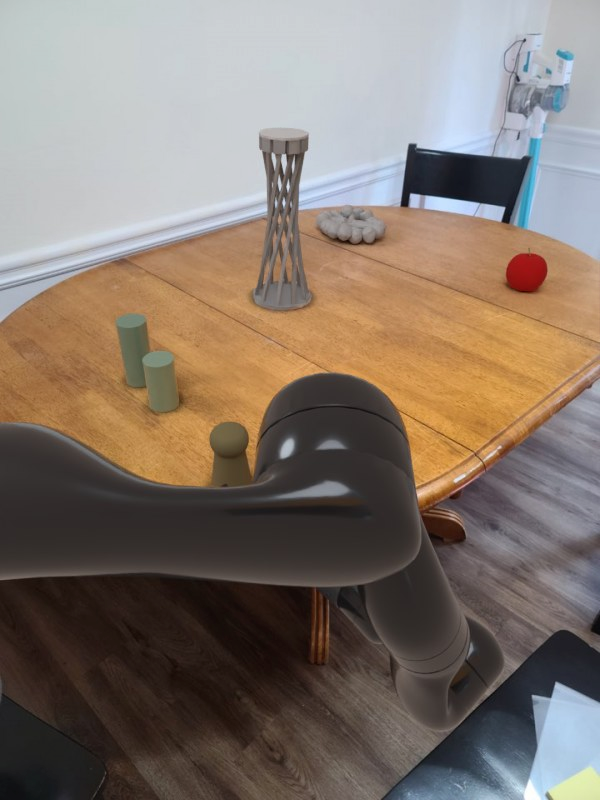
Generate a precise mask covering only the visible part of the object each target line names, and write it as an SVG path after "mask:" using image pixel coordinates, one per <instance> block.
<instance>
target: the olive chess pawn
mask: <svg viewBox="0 0 600 800" xmlns="http://www.w3.org/2000/svg"><path fill="white" fill-rule="evenodd" d="M208 439H209V447H210V449H211V451H212V452H213V463H212V474H211V485H210V487H220V486H221V485H223V484H225V483H226V484H227V485H228V486H229V487H232V486H244V485H250V484H252V480H253V477H252V474H251V473H252V472H251V469H250V464H249V460H248V455H247V449H248V447H249V443H250V435H249V432H248V430H247V429H246V427H245V426H244V425H242V424H241V423H239V422H237V421H224V422H220V423H218V424H216V425H215V426H214V427H213V428H212V429H211V431H210V433H209V437H208Z"/></svg>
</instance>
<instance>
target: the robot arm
mask: <svg viewBox="0 0 600 800" xmlns="http://www.w3.org/2000/svg"><path fill="white" fill-rule="evenodd" d="M408 435H409V434H408V431H407V427H406V424H405V423H404V419H403V417H402V415H401V412H400V411H399V410H398V408H397V406H396V405H395V403H394V402H393V401H392V400H391V398H390V397H389V396H388V395H387V394H386V393H385V392H384V391H382V390H381V389H380V388H379V387H378V386H376V385H375V384H373V383H371V382H369V381H368V380H366V379H364V378H361V377H359V376H355V375H352V374H348V373H341V372H318V373H313V374H308V375H303V376H301V377H299V378H296V379H294V380H292V381H291V382H289V383H287V384H285V386H283V387H282V388H281V389H280V390H279V391H278V392H277V393H276V394H275V395H274V396H273V397H272V398H271V400H270V401H269V403H268V405H267V406H266V409H265V411H264V414H263V417H262V419H261V423H260V426H259V429H258V433H257V439H256V447H255V454H254V463H253V470H252V471H253V473H252V484H250V485H244V486H232V487H229V486H228V485H227V484H226V483H225V484H223V485H221V486H220V487H211V486H204V485H203V486H202V485H200V486H199V485H185V484H171V483H166V482H161V481H156V480H153V479H149V478H147V477H145V476H142V475H140V474H137V473H135V472H133V471H132V470H129V469H128V468H126V467H124V466H123V465H121V464H119V463H118V462H116V461H114V460H113V459H111V458H109V457H108V456H107V455H105V454H103V453H102V452H100V451H98V450H96V449H95V448H94V447H92V446H90V445H88V444H87V443H85V442H84V441H81V440H80V439H78V438H76V437H74V436H72V435H70V434H69V433H66V432H64V431H62V430H61V429H58V428H55V427H53V426H49V425H46V424H42V423H35V422H27V421H0V581H7V580H10V581H11V580H26V579H41V578H44V579H45V578H82V577H83V578H88V577H89V578H90V577H92V578H93V577H117V578H118V577H126V578H127V577H133V578H134V577H135V578H136V577H137V578H138V577H141V578H166V579H167V578H168V579H182V580H195V581H206V582H207V581H209V582H220V583H221V582H222V583H235V584H236V583H237V584H247V585H249V584H250V585H263V586H273V587H274V586H275V587H291V588H292V587H293V588H310V589H311V588H313V589H314V588H315V590H317V592H319V593H320V594H321V595H322V596H323V597H324V598H325V599H326V600H328V602H330V603H331V604H333V605H334V606H335V607H336V608H337V609H338V610H339V611H340V613H342V614H343V615H344V616H345V618H346V619H347V620H348V621H349V622H350V623H351V624H352V625H353V626H354V627H355V628H356V629H357V630H358V631H359V632H360V634H362V635H363V637H365V638H366V640H368V641H369V642H371V643H372V644H375V645H383V646H384V648H385V649H386V651H387V652H388V654H389V656H388V657H389V670H390V676H391V681H392V684H393V688H394V690H395V693H396V694H397V695H396V696H397V697H398V699H399V701H400V703H401V705H402V706H403V708H404V709H405V710H406V712H407V713H408V714H409V716H410V717H411V718H412V719H413V720H414V721H415V722H416V723H418V725H420V726H422V727H423V728H425V729H427V730H429V731H432V732H437V733H444V732H445V733H446V732H449V731H452V730H454V729H455V728H457V727H458V726H459V725H460V724H461V723H462V722H463V721H464V719H465V718H467V716H468V715H469V713H470V712H471V711H472V710H473V709H474V708H475V707H476V706H477V705H478V703H479V702H480V701H481V699H483V697H484V696H485V695H486V694H487V692H488V691H489V690H490V689H491V688H492V687H493V686H494V685H495V683H496V682H497V681H498V679H499V678H500V677H501V676H502V674H503V672H504V670H505V667H506V657H505V652H504V650H503V648H502V645H501V643H500V641H499V640H498V638H497V636H495V634H494V633H493V632H492V631H491V630H490V629H488V628H487V627H486V626H485V625H484V624H483V623H481V622H480V621H477V620H476V619H474V618H473V617H471V616H469V615H468V614H465V613H464V611H463V609H462V606H461V604H460V603H459V600H458V598H457V596H456V593H455V591H454V589H453V587H452V585H451V583H450V581H449V579H448V577H447V574H446V572H445V571H444V568H443V566H442V564H441V562H440V559H439V557H438V555H437V552H436V551H435V548H434V545H433V543H432V541H431V539H430V536H429V533H428V531H427V529H426V526H425V524H424V521H423V517H422V515H421V512H420V506H419V499H418V493H417V486H416V479H415V474H414V473H415V472H414V467H413V460H412V451H411V450H412V449H411V444H410V440H409V436H408Z"/></svg>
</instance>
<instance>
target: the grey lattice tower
mask: <svg viewBox="0 0 600 800" xmlns="http://www.w3.org/2000/svg"><path fill="white" fill-rule="evenodd" d="M309 134H310V133H309V132H308V131H307V130H304V129H300V128H295V127H294V128H293V127H269V128H263V129H260V130H259V131H258V149H259V150H260V151H261V153H262V159H263V164H264V170H265V176H266V210H267V223H266V229H265V235H264V241H263V250H262V256H261V263H260V270H259V275H258V278H257V284H256V287H255V288H253V290H252V298H253V301H254V303H255V304H256V305H257V306H259V307H261V308H262V309H267V310H270V311H277V312H279V311H281V312H282V311H283V312H287V311H293V310H296V309H302V308H303V307H306V306H308V305H309V303H310V302H311V301H312V293H311V292H310V289H309V287H308V283H307V277H306V273H305V269H304V261H303V253H302V244H301V234H300V225H299V210H300V209H299V205H300V183H301V179H302V178H301V177H302V172H303V166H304V161H305V155H306V154H305V153H306V152H308V151H309V139H310V138H309ZM273 155H274V157H275V165H274V162H273ZM283 155H284V156H285V158H286V159H285V160H286V166H285V170H284V169H283V163H282V158H283ZM293 163H294V168H293ZM279 179H280V184H281V187H280V186H279ZM288 185H289V188H288V187H287V186H288ZM283 202H284V203H283ZM279 217H280V223H279ZM283 234H284V236H285V243H284V247H283V243H282V238H283ZM291 235H292V236H291ZM275 236H276V239H275V242H274V237H275ZM291 237H292V238H291ZM283 248H284V249H283ZM278 254H279V259H280V265H281V266H280V273H279V278H278V280H276V281H275V280H274V270H275V266H276V261H277V258H278ZM288 254H289V256H290V262H291V279H290V280H291V281H289V278H288V272H287V266H286V265H287V260H288ZM267 264H268V270H267V273H266V274H267V275H266V278H265V271H266V268H267ZM264 279H265V282H264Z"/></svg>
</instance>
